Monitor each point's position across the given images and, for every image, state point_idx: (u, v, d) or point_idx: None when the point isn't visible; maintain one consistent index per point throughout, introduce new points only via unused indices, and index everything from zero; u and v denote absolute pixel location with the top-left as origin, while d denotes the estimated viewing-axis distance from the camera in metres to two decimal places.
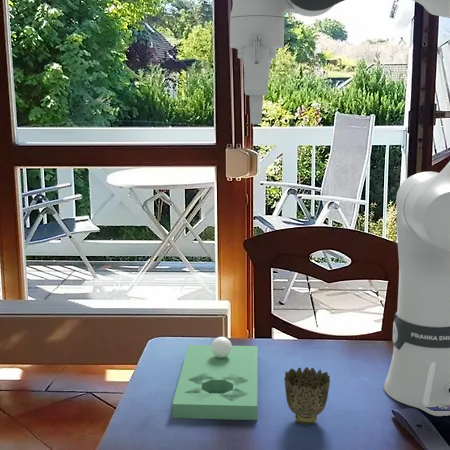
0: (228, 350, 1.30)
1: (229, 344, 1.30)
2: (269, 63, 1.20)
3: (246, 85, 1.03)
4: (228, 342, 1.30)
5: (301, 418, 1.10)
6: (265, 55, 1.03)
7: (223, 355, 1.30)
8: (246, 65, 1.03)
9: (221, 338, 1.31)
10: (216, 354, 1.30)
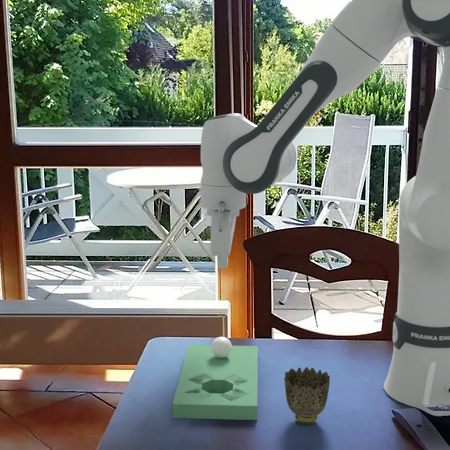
0: (228, 350, 1.30)
1: (229, 344, 1.30)
2: None
3: (212, 249, 1.24)
4: (228, 342, 1.30)
5: (301, 418, 1.10)
6: (227, 224, 1.24)
7: (223, 355, 1.30)
8: (212, 232, 1.24)
9: (221, 338, 1.31)
10: (216, 354, 1.30)
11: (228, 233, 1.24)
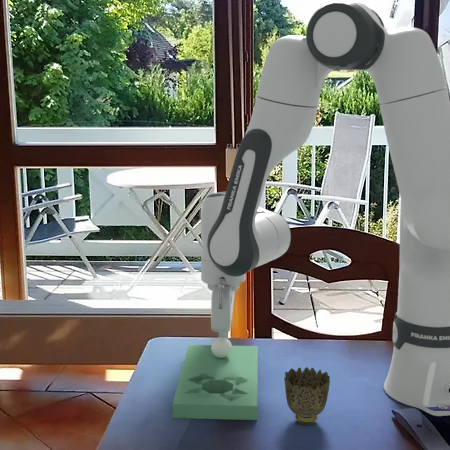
0: (228, 350, 1.30)
1: (229, 344, 1.30)
2: None
3: (212, 326, 1.27)
4: (228, 342, 1.30)
5: (301, 418, 1.10)
6: (228, 302, 1.27)
7: (223, 355, 1.30)
8: (212, 310, 1.27)
9: (221, 338, 1.31)
10: (216, 354, 1.30)
11: (228, 310, 1.27)
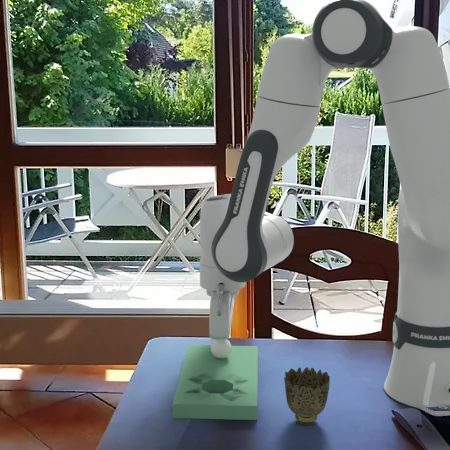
0: (228, 352, 1.30)
1: (228, 345, 1.30)
2: None
3: (211, 333, 1.23)
4: (228, 344, 1.30)
5: (301, 418, 1.10)
6: (226, 309, 1.23)
7: (223, 357, 1.30)
8: (211, 316, 1.23)
9: (221, 340, 1.30)
10: (216, 356, 1.30)
11: (227, 317, 1.23)
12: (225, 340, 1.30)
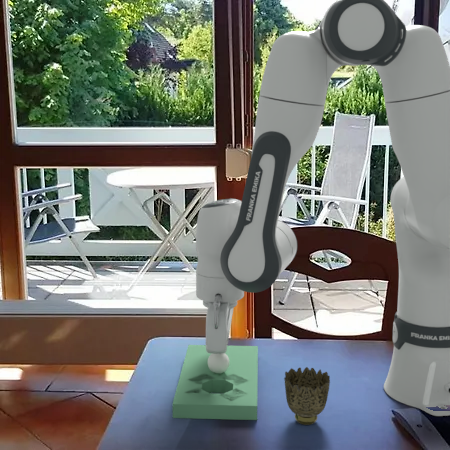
0: None
1: None
2: None
3: (207, 347, 1.17)
4: None
5: (301, 418, 1.10)
6: (224, 321, 1.16)
7: None
8: (207, 330, 1.16)
9: None
10: None
11: (224, 331, 1.16)
12: None
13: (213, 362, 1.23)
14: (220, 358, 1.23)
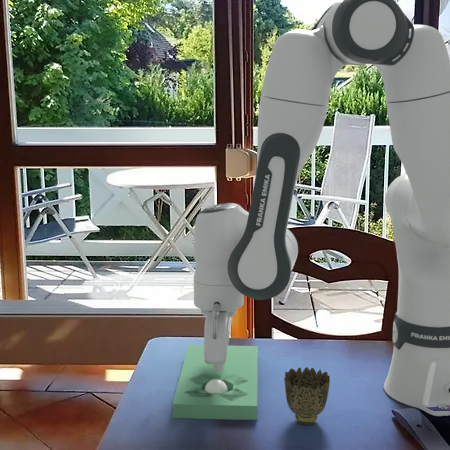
0: None
1: None
2: None
3: (206, 358, 1.12)
4: None
5: (301, 418, 1.10)
6: (223, 331, 1.12)
7: None
8: (205, 340, 1.12)
9: (215, 391, 1.16)
10: None
11: (223, 341, 1.12)
12: (220, 390, 1.17)
13: None
14: None
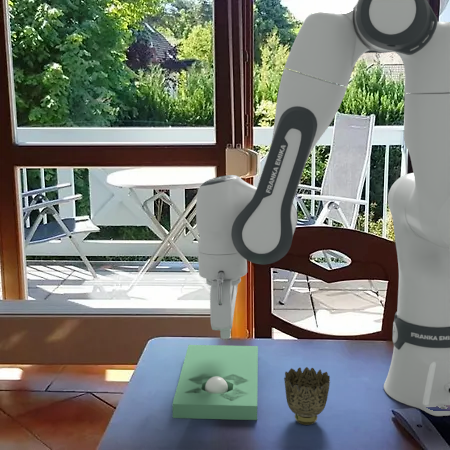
0: None
1: (225, 387, 1.18)
2: None
3: (212, 324, 1.16)
4: (224, 385, 1.18)
5: (301, 418, 1.10)
6: (228, 297, 1.16)
7: None
8: (211, 306, 1.16)
9: (216, 382, 1.18)
10: None
11: (229, 307, 1.16)
12: (221, 381, 1.18)
13: None
14: None
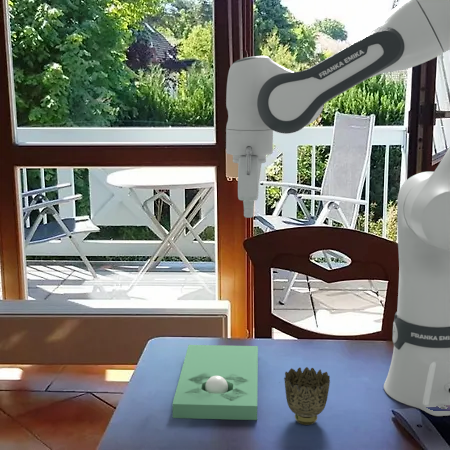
0: (224, 392, 1.19)
1: (225, 385, 1.19)
2: None
3: (240, 193, 1.21)
4: (224, 383, 1.19)
5: (301, 418, 1.10)
6: (255, 168, 1.20)
7: None
8: (239, 176, 1.21)
9: (216, 379, 1.19)
10: None
11: (256, 176, 1.20)
12: (221, 379, 1.19)
13: None
14: None
